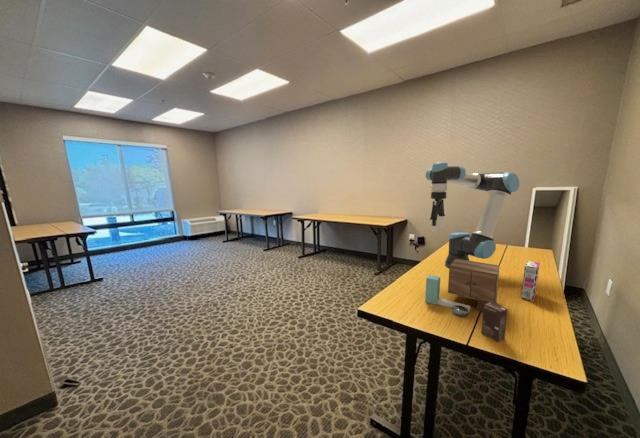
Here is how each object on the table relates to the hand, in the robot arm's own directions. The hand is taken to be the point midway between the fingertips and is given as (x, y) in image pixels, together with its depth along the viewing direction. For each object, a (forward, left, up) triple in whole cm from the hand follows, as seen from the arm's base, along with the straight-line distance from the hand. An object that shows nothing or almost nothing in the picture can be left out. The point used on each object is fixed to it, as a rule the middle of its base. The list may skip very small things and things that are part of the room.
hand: (437, 229), depth 136 cm
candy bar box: (-7, +42, -31) cm, 52 cm away
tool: (+26, +12, -30) cm, 42 cm away
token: (+31, +18, -30) cm, 47 cm away
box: (+42, +31, -30) cm, 60 cm away
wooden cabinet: (+17, +21, -30) cm, 40 cm away
